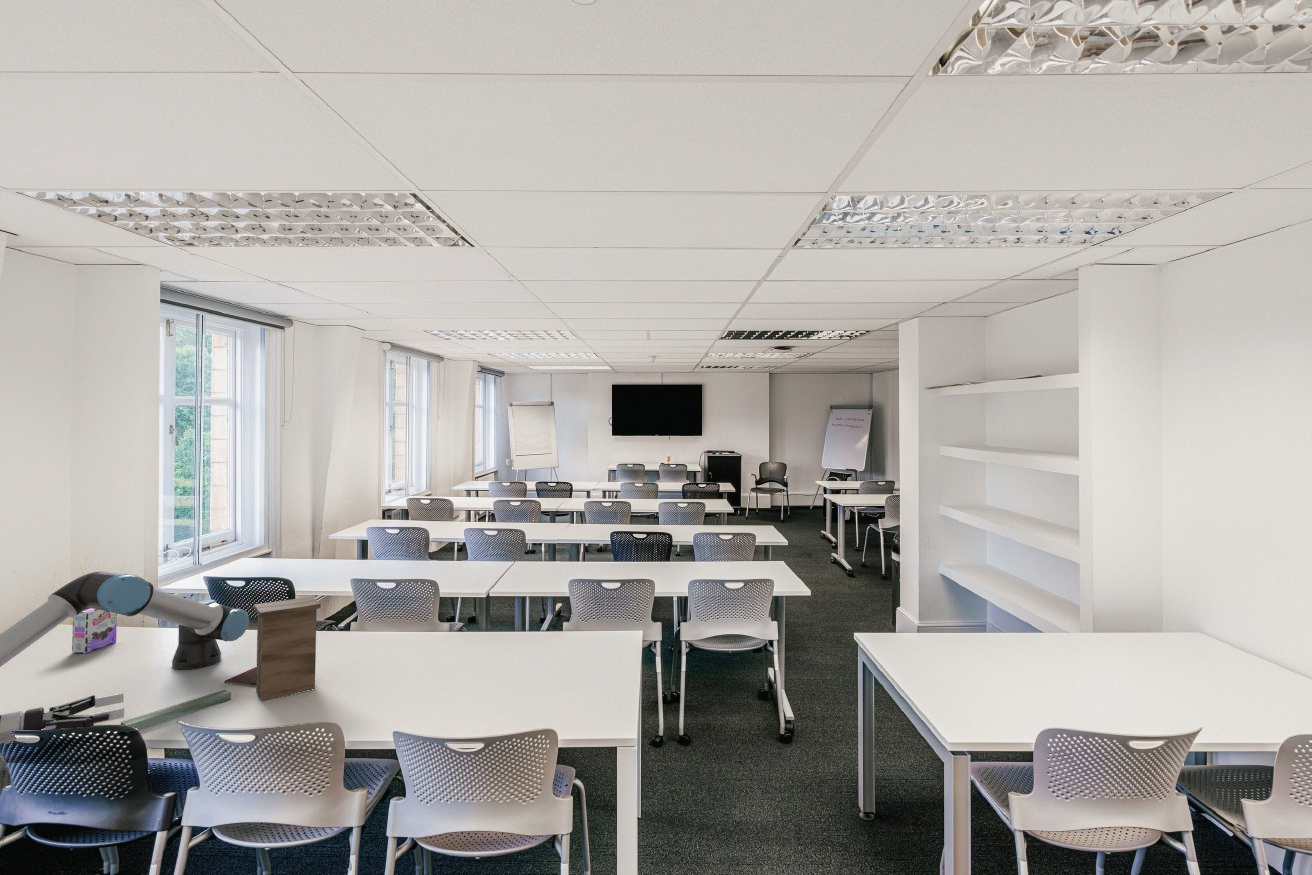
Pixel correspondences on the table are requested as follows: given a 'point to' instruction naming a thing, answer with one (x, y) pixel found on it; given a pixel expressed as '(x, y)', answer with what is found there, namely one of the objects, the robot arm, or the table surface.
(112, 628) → the candy box
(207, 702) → the slat
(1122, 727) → the table surface
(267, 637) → the stand
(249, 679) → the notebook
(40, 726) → the robot arm
